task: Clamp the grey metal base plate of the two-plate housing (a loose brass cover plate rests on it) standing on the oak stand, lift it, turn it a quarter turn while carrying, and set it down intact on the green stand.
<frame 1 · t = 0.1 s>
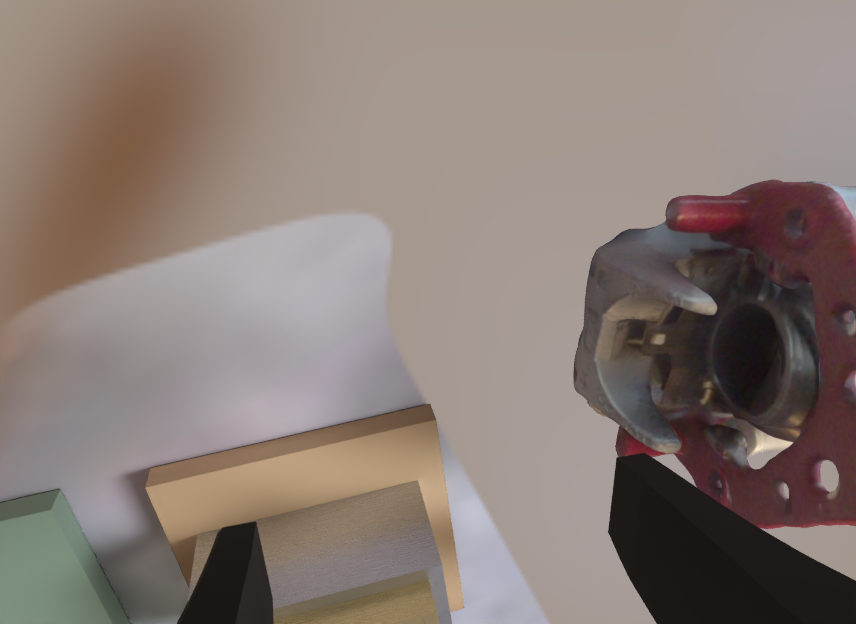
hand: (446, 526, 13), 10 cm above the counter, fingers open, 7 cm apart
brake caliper: (682, 297, 24), on the counter
stand a: (322, 535, 25), on the counter
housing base: (323, 555, 24), point 1 cm above the counter, touching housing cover, stand a
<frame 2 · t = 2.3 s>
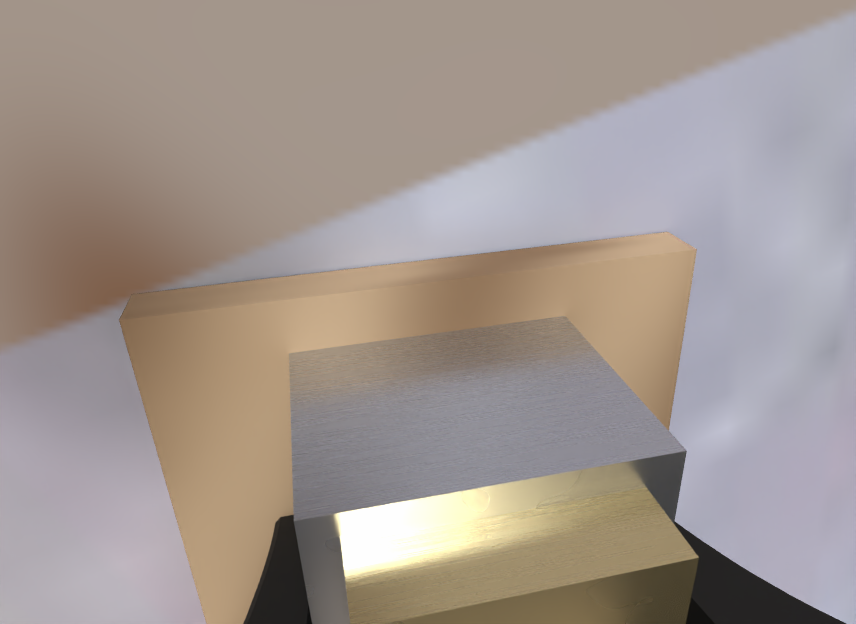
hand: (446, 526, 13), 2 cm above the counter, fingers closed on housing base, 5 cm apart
stand a: (429, 473, 14), on the counter
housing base: (439, 505, 13), point 1 cm above the counter, touching gripper, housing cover, stand a
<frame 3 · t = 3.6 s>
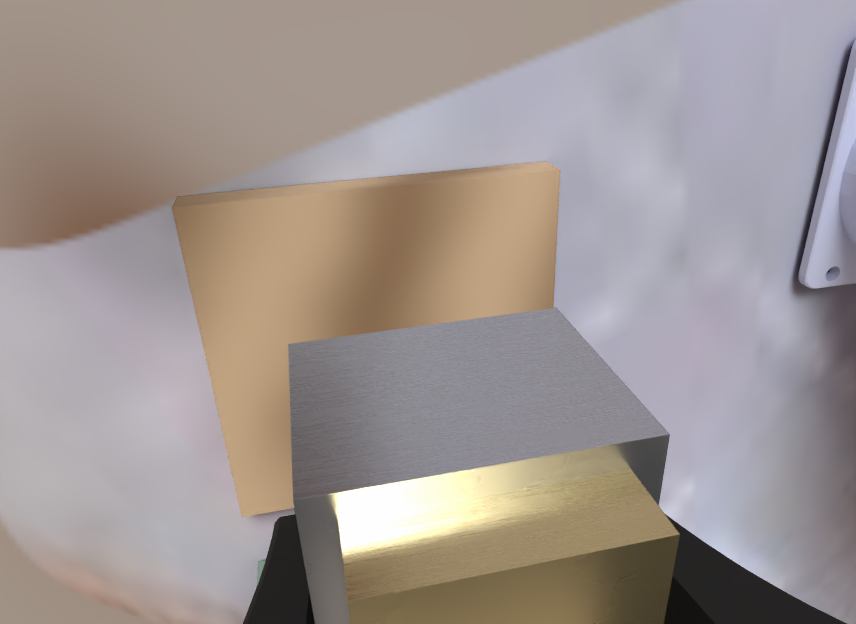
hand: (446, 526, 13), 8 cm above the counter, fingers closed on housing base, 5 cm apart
stand a: (384, 340, 20), on the counter
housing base: (434, 493, 14), point 7 cm above the counter, touching gripper, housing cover
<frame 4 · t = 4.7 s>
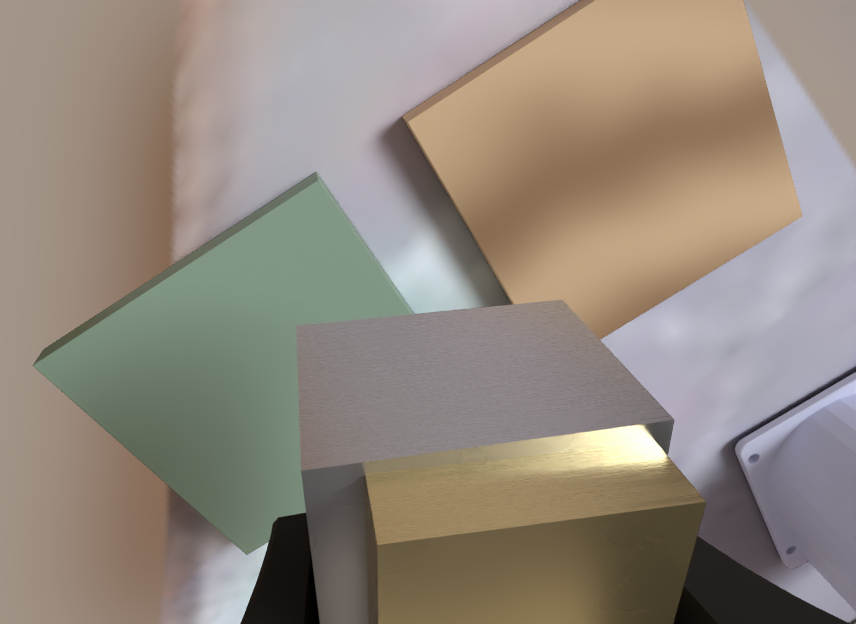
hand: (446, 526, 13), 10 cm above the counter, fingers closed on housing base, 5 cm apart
stand a: (610, 166, 21), on the counter
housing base: (435, 482, 14), point 9 cm above the counter, touching gripper, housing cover
stand b: (277, 375, 22), on the counter
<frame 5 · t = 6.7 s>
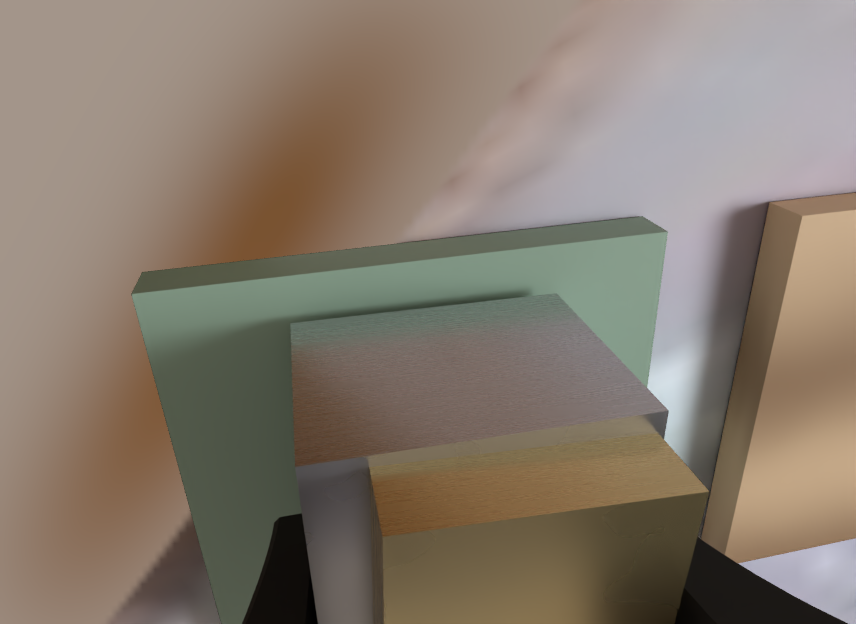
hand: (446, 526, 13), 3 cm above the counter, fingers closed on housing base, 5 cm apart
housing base: (433, 478, 14), point 1 cm above the counter, touching gripper, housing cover
stand b: (420, 445, 15), on the counter
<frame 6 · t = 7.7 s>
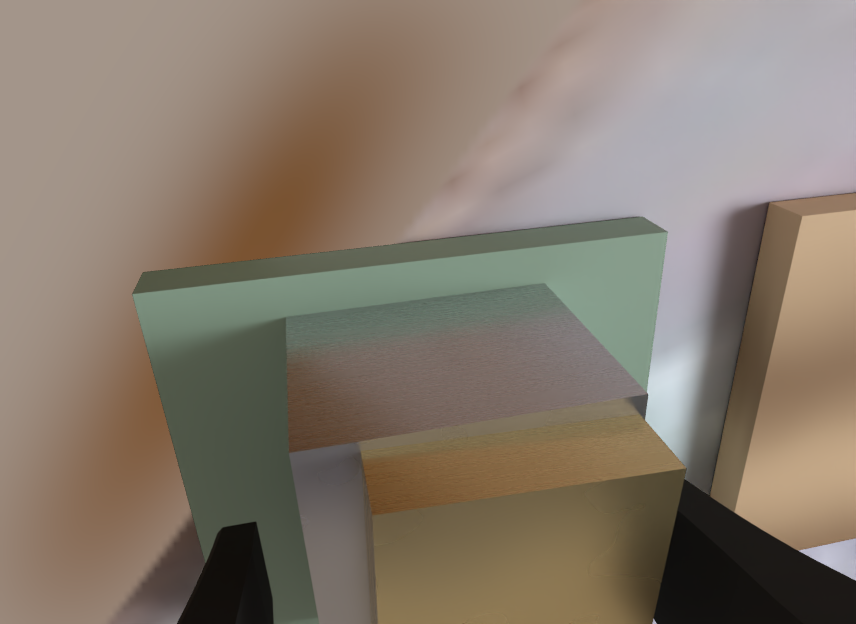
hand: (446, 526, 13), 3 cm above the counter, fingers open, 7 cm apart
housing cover: (494, 608, 10), point 5 cm above the counter, touching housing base
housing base: (429, 465, 14), point 1 cm above the counter, touching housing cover, stand b
stand b: (420, 445, 15), on the counter
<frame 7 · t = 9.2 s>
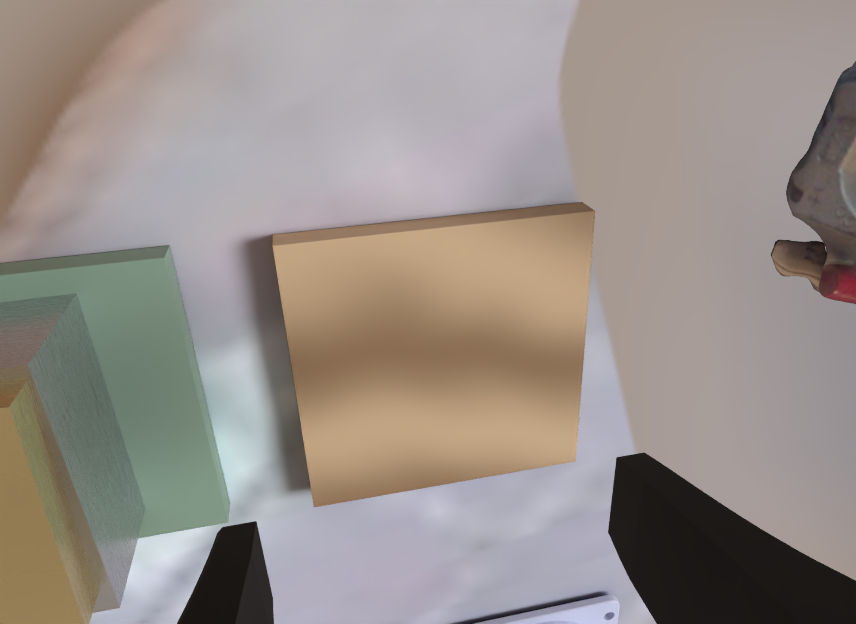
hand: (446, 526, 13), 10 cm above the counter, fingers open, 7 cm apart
stand a: (438, 354, 23), on the counter
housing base: (26, 423, 19), point 1 cm above the counter, touching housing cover, stand b
stand b: (39, 410, 20), on the counter
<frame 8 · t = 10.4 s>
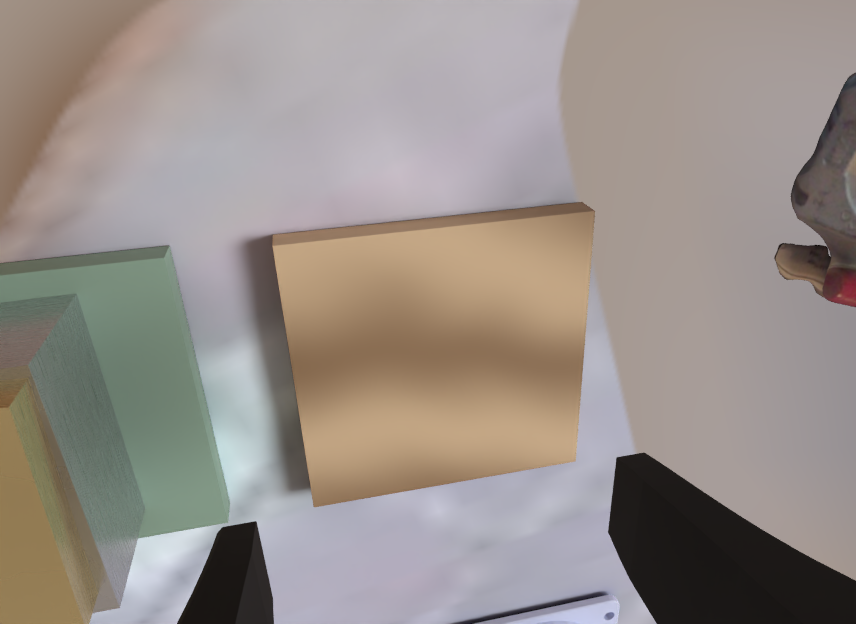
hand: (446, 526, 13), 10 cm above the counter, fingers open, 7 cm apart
stand a: (438, 354, 23), on the counter
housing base: (26, 423, 19), point 1 cm above the counter, touching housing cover, stand b
stand b: (39, 410, 20), on the counter
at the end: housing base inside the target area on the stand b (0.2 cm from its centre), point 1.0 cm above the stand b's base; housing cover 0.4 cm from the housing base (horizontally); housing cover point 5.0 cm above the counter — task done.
